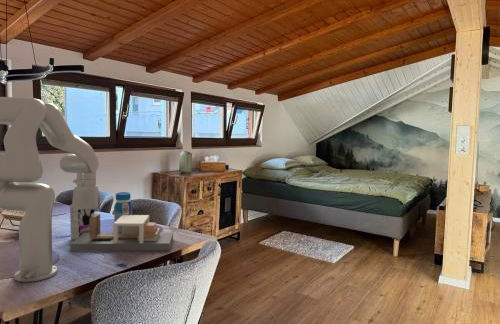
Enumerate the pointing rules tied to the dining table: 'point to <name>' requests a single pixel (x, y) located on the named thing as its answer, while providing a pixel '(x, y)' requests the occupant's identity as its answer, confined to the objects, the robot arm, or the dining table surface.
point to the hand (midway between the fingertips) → (86, 224)
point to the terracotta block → (149, 228)
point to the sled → (95, 233)
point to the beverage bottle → (122, 207)
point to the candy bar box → (77, 224)
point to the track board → (129, 226)
